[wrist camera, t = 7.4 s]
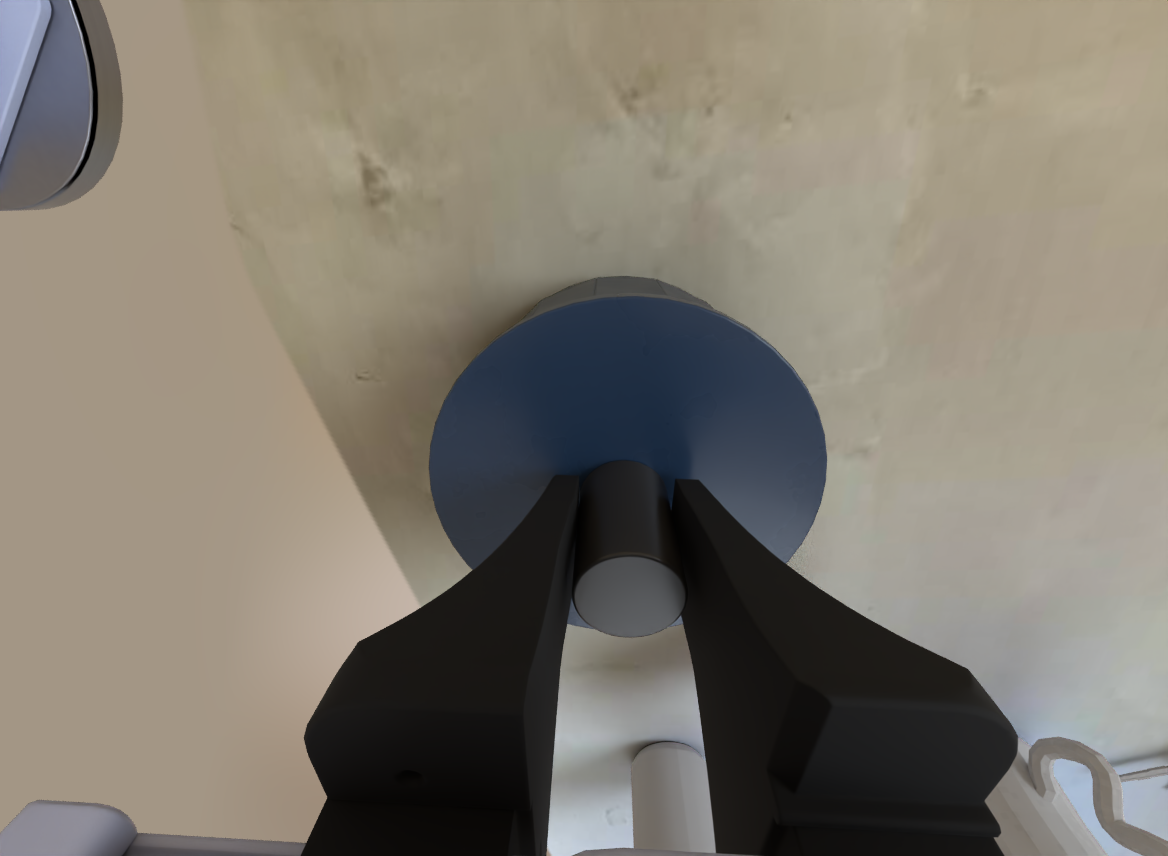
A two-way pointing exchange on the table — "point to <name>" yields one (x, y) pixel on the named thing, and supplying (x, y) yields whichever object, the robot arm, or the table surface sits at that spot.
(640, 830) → the beverage can
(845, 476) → the table surface
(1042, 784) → the mug
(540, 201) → the table surface
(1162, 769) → the key chain
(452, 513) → the lid
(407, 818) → the robot arm
